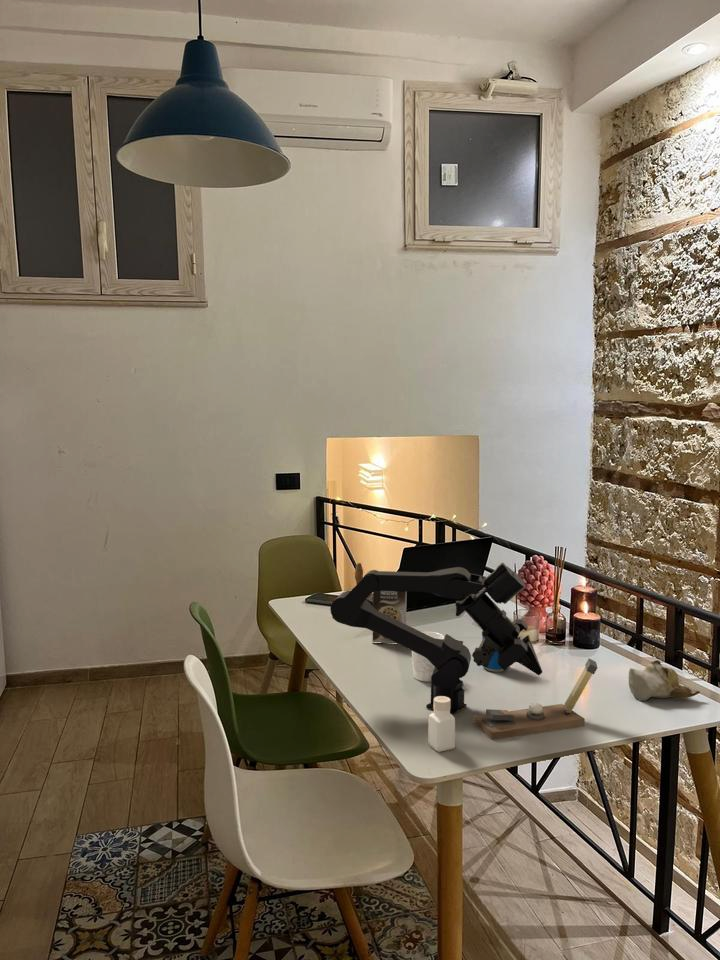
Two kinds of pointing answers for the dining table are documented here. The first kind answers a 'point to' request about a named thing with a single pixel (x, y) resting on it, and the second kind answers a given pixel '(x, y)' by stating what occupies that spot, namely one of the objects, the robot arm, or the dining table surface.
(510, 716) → the rocker switch
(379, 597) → the coffee box
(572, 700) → the tan capped bar
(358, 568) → the hand bell
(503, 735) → the switch panel
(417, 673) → the white cup
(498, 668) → the beverage can
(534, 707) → the push button
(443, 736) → the white pill bottle
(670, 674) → the ceramic sculpture
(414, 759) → the dining table surface
